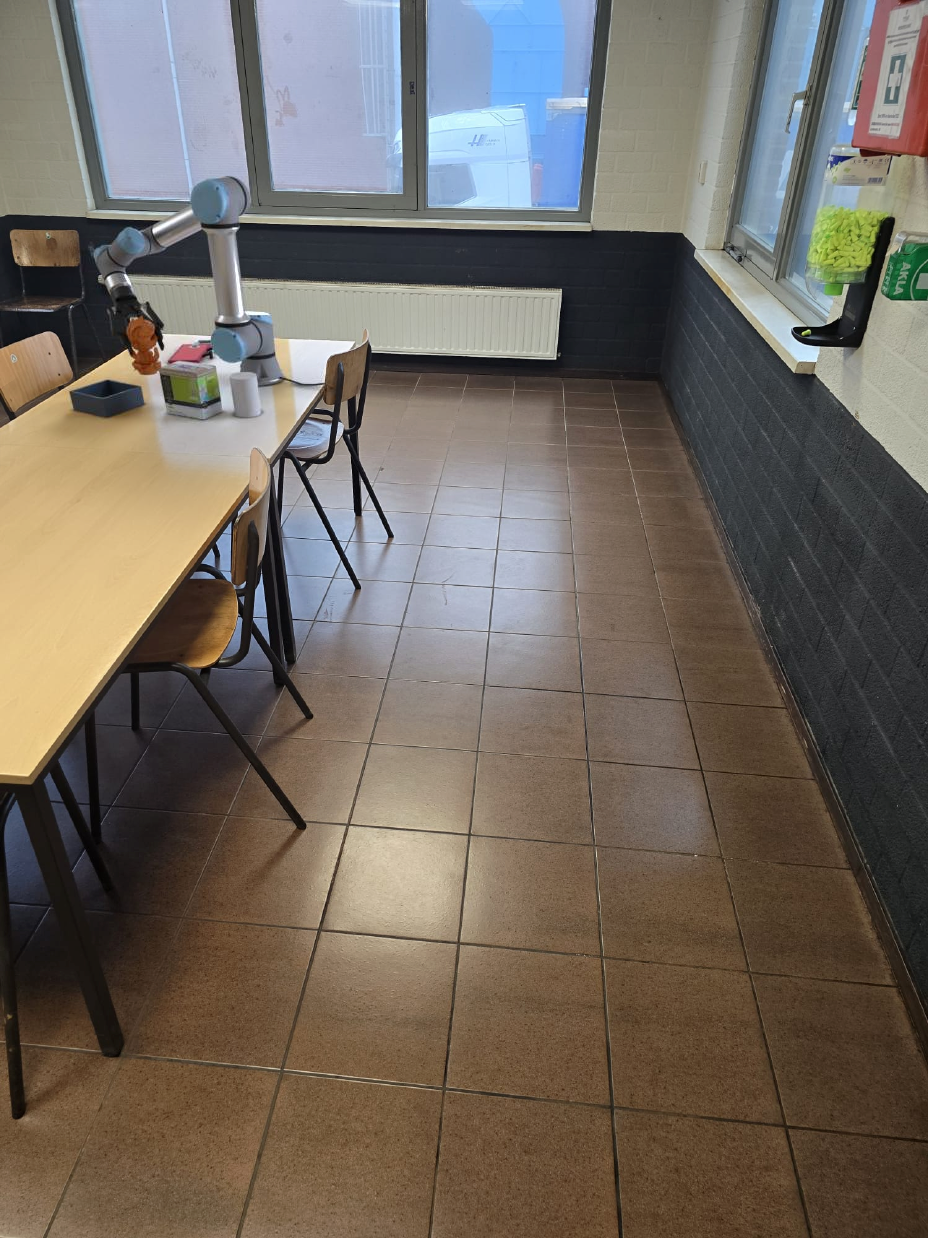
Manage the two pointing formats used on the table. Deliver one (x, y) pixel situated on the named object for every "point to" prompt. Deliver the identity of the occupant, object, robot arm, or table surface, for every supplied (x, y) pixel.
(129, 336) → the orange monster figurine
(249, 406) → the cup
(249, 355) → the robot arm
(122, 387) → the crate
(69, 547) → the table surface
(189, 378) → the tea box
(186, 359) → the red board with handle
